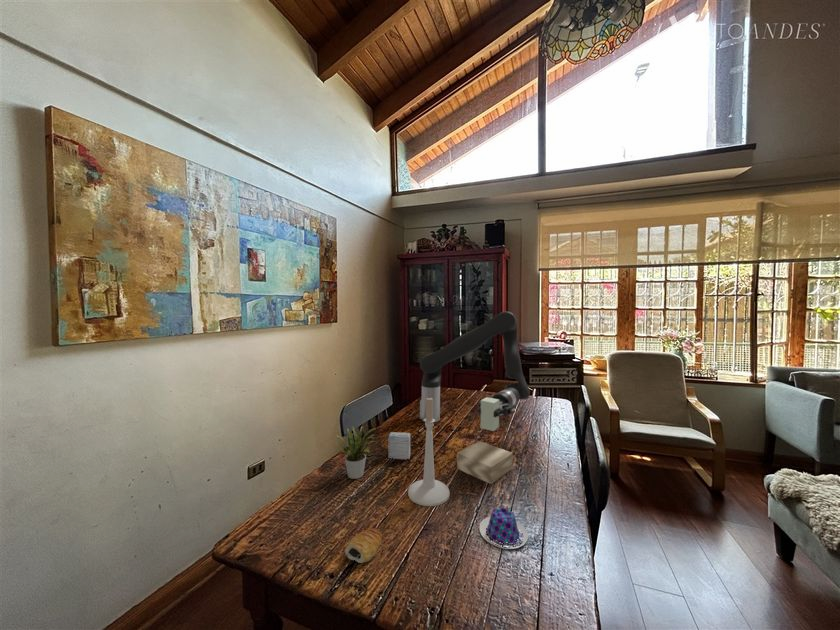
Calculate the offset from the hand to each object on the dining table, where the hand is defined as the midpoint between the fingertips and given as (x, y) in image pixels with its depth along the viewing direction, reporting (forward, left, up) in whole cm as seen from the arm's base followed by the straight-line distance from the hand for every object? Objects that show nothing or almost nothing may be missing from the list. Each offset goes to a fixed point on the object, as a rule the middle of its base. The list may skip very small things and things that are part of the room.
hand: (487, 412), depth 114 cm
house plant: (-33, -30, -20) cm, 49 cm away
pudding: (+17, -28, -20) cm, 38 cm away
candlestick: (-8, -25, -20) cm, 33 cm away
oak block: (0, -1, -20) cm, 20 cm away
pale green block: (0, +3, -6) cm, 7 cm away
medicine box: (-30, -12, -20) cm, 38 cm away
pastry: (-8, -53, -20) cm, 57 cm away
